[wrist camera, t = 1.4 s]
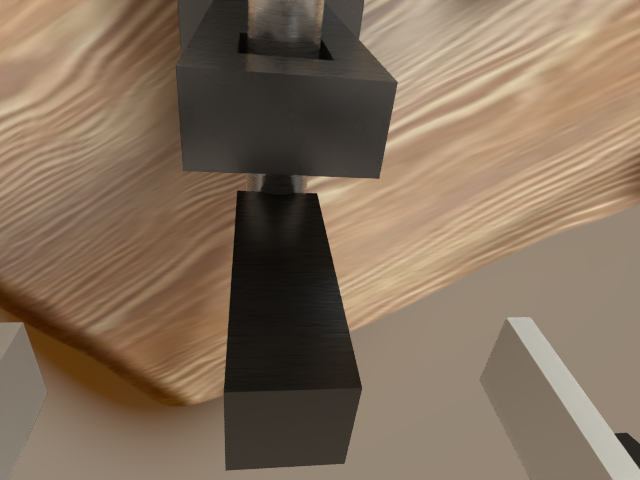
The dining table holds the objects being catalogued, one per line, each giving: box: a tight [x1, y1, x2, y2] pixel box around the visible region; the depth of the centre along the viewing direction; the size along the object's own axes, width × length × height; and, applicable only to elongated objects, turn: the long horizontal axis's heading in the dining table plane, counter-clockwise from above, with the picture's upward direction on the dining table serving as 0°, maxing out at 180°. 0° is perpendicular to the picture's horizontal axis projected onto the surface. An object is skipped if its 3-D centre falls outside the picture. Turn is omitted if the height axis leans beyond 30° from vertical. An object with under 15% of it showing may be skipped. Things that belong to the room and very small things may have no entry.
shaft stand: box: [176, 0, 398, 179], centre depth 19 cm, size 18×10×17 cm, turn 174°
